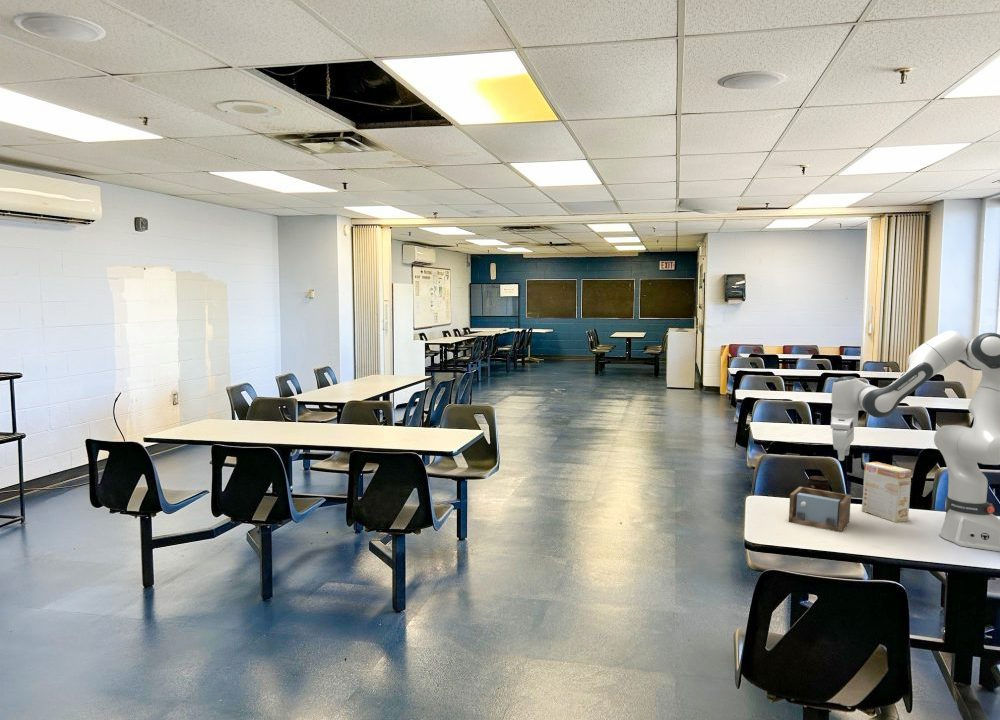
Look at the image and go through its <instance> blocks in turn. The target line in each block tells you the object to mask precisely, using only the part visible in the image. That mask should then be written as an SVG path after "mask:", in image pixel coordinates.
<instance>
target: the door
mask: <svg viewBox="0 0 1000 720" xmlns="http://www.w3.org/2000/svg"><path fill="white" fill-rule="evenodd" d="M839 506H840V500H839V499H833V498H827V497H822V496H816V495H810V494H804V493H798V494H797V507H796V518H797V512H799V513H804V514H805V518H804V520H807V521H813V522H818V523H823V524H826V518H831V519H834V526H838V523H839Z"/></svg>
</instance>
